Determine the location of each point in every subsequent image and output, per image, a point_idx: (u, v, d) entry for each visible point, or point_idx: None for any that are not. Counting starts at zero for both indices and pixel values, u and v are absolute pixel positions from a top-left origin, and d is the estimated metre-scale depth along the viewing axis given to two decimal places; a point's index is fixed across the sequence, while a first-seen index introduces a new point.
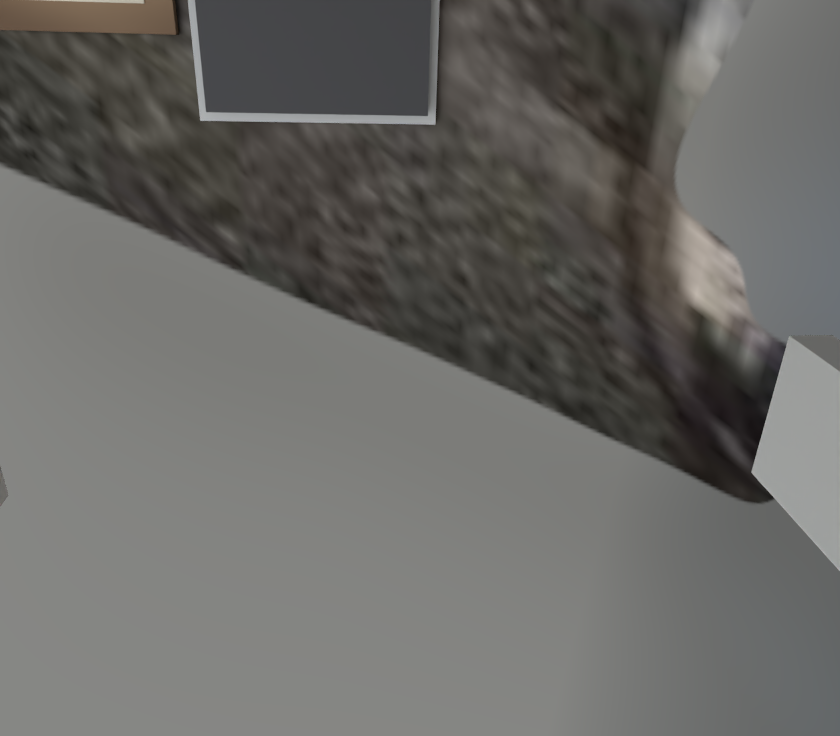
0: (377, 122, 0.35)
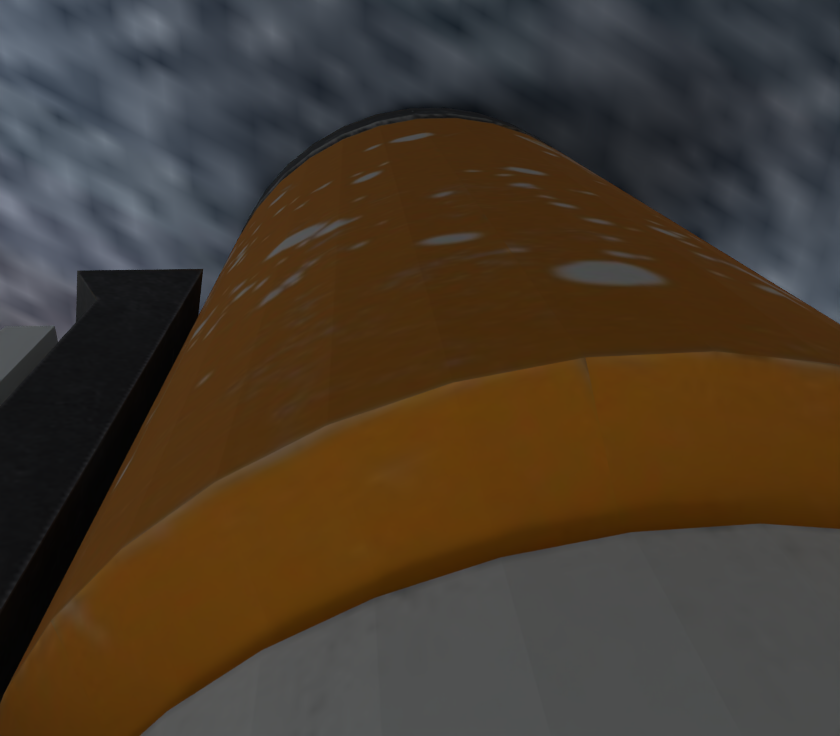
0: None
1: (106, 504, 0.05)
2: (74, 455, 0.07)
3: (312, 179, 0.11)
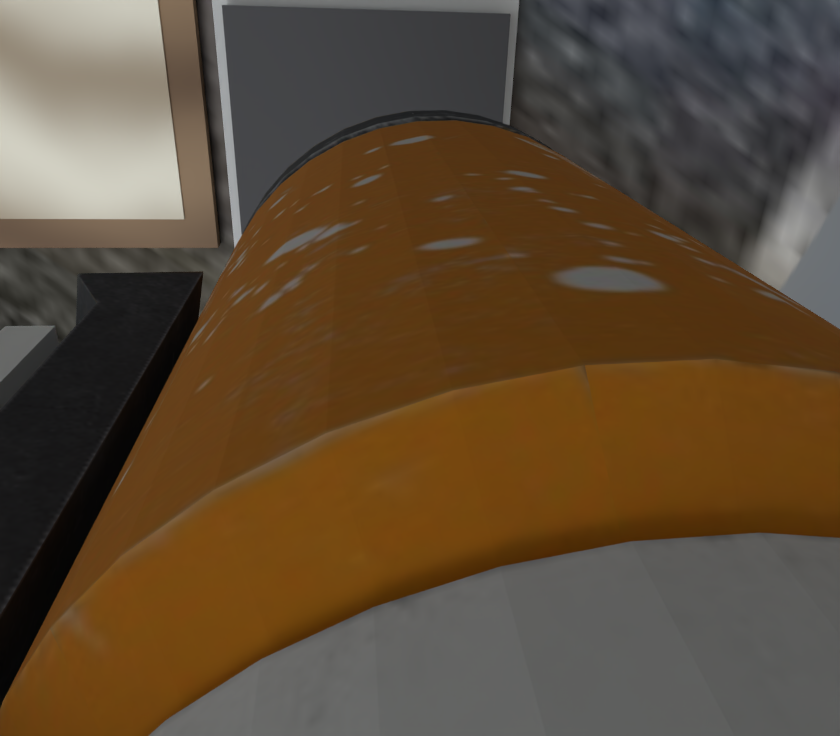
0: None
1: (106, 510, 0.05)
2: (74, 459, 0.07)
3: (312, 182, 0.11)
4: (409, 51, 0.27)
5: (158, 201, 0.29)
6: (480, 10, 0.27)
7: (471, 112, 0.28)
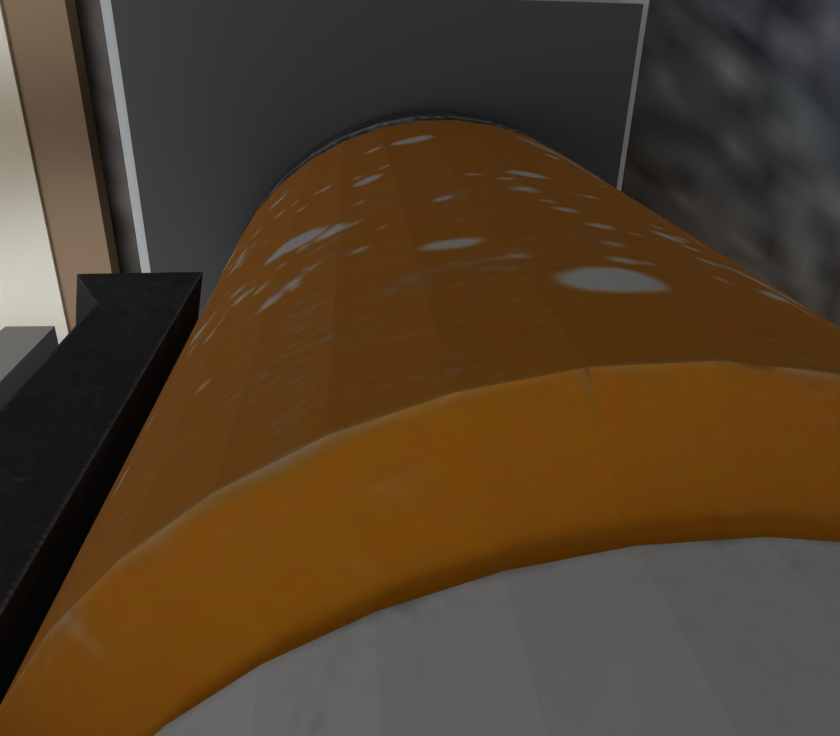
0: None
1: (104, 512, 0.05)
2: (72, 461, 0.07)
3: (312, 182, 0.11)
4: (458, 71, 0.15)
5: (25, 323, 0.17)
6: None
7: None
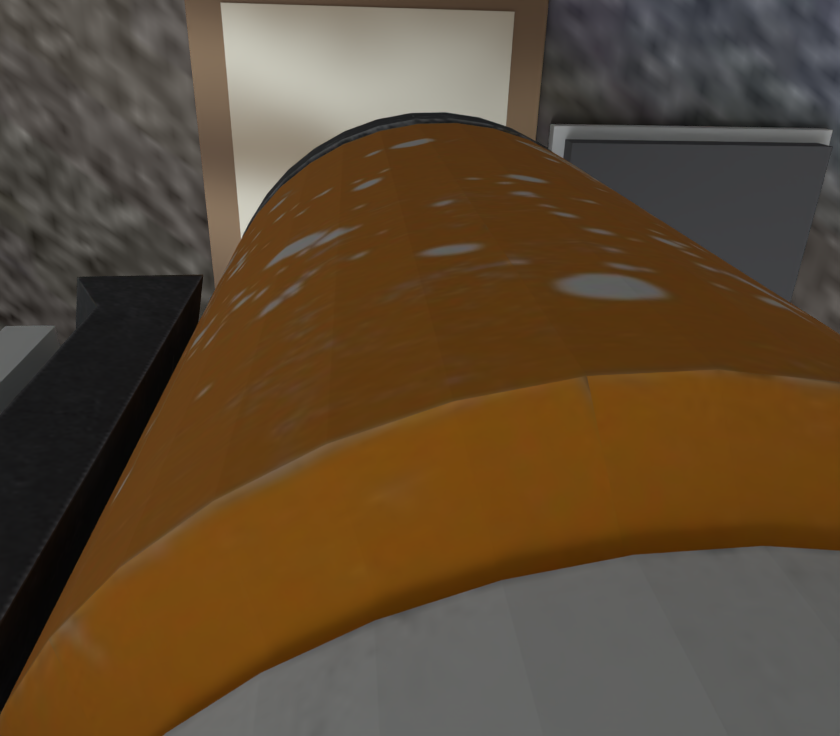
0: None
1: (105, 517, 0.05)
2: (73, 465, 0.07)
3: (312, 185, 0.11)
4: (734, 180, 0.28)
5: None
6: (795, 140, 0.29)
7: (780, 233, 0.29)
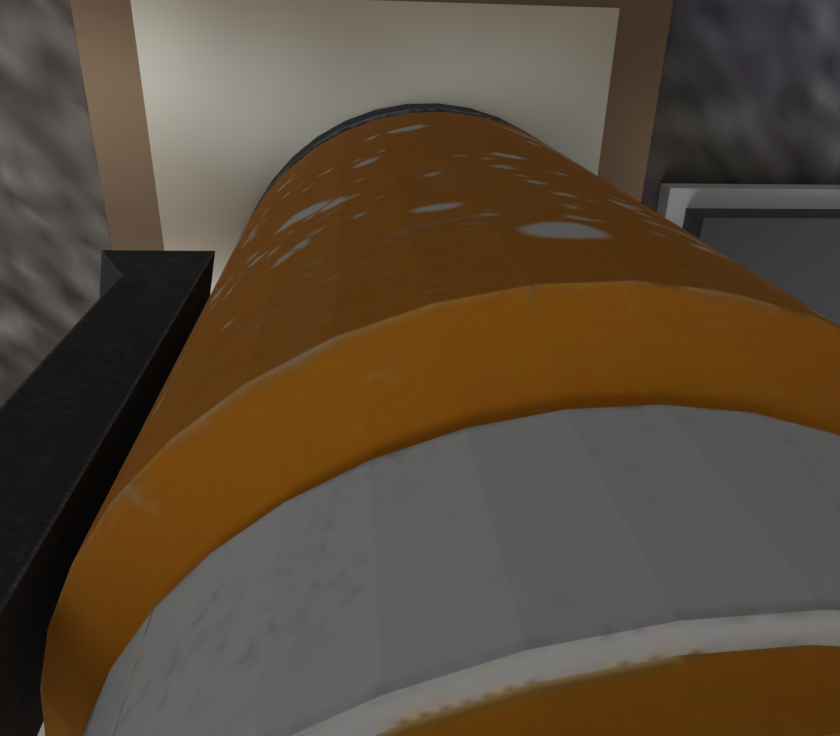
0: None
1: (146, 427, 0.06)
2: (111, 399, 0.08)
3: (316, 166, 0.12)
4: None
5: None
6: None
7: None
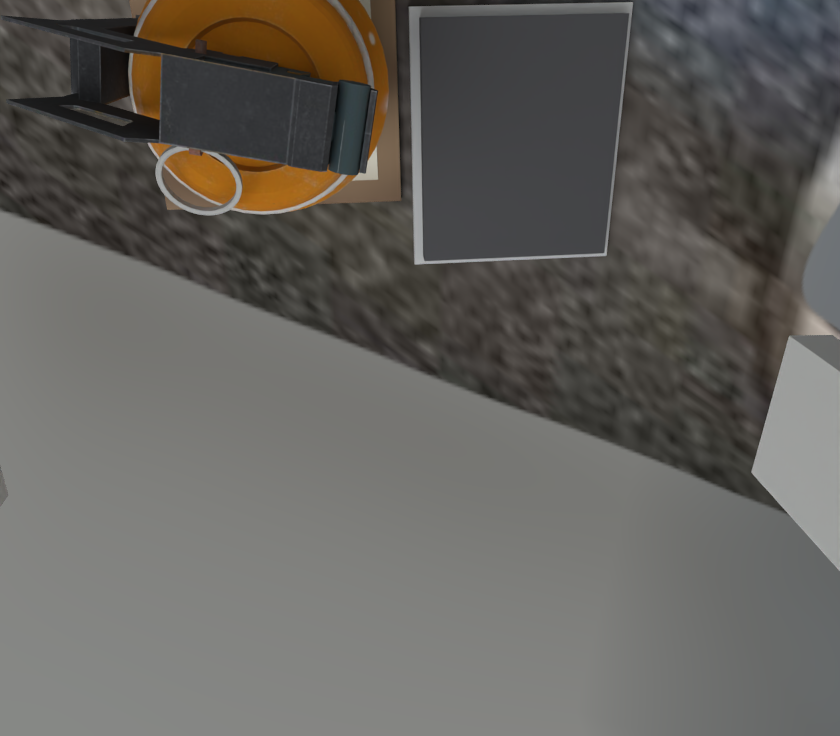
0: (558, 257, 0.42)
1: None
2: None
3: None
4: (554, 44, 0.36)
5: None
6: (604, 11, 0.37)
7: (597, 88, 0.37)
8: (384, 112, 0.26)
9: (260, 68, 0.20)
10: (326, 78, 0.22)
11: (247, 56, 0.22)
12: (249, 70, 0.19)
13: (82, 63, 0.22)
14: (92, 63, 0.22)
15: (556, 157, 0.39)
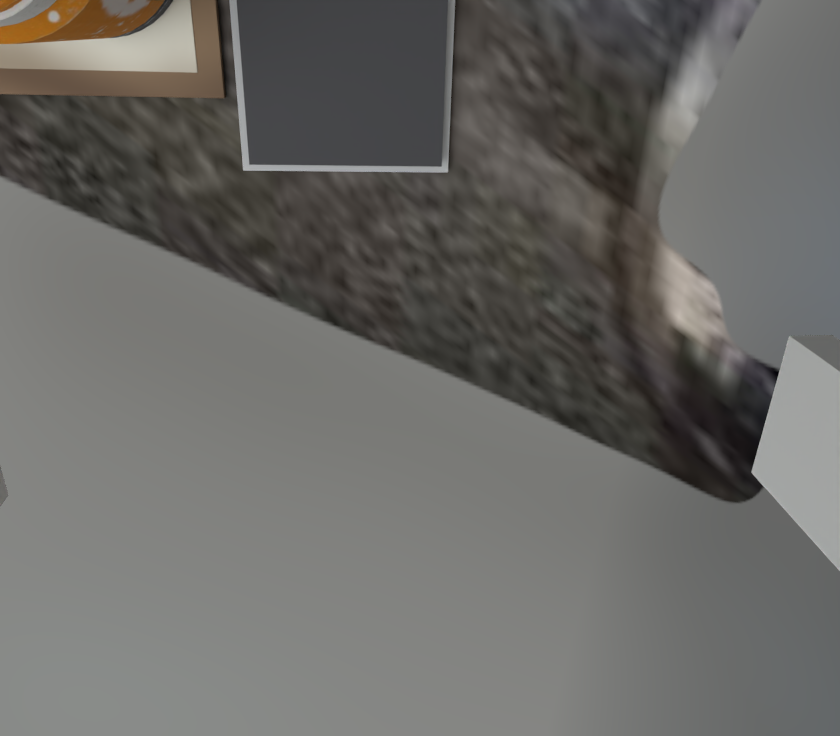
0: (397, 171, 0.40)
1: None
2: None
3: None
4: None
5: (177, 56, 0.37)
6: None
7: None
8: None
9: None
10: None
11: None
12: None
13: None
14: None
15: (384, 56, 0.37)
